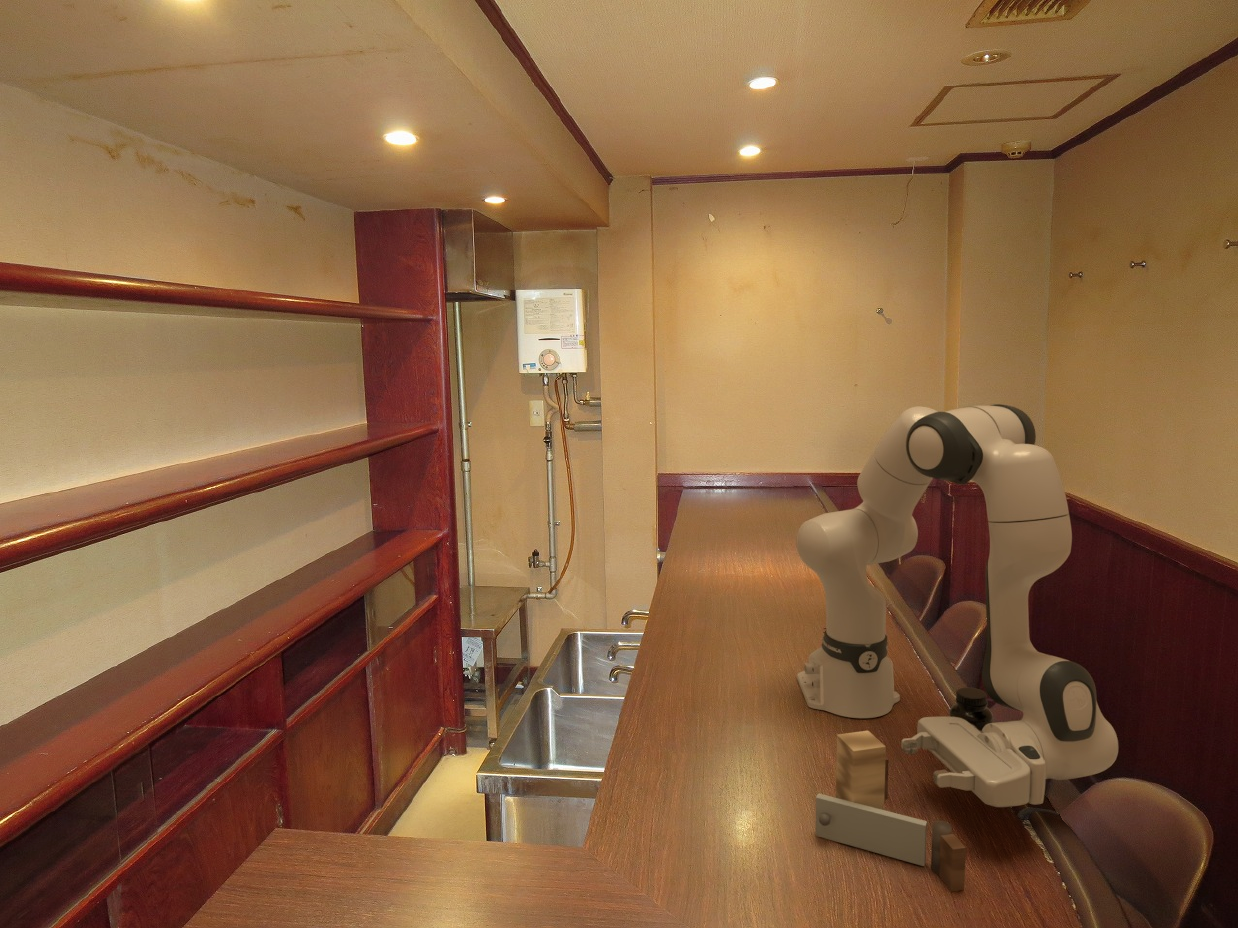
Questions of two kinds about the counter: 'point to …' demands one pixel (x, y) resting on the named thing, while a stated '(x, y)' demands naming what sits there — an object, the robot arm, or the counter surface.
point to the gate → (871, 829)
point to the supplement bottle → (972, 707)
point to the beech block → (860, 769)
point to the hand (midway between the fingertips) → (919, 762)
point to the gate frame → (944, 851)
